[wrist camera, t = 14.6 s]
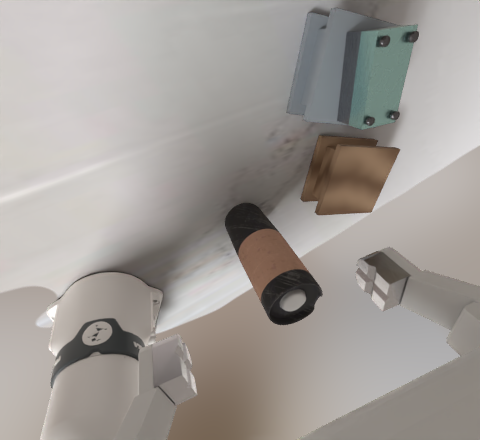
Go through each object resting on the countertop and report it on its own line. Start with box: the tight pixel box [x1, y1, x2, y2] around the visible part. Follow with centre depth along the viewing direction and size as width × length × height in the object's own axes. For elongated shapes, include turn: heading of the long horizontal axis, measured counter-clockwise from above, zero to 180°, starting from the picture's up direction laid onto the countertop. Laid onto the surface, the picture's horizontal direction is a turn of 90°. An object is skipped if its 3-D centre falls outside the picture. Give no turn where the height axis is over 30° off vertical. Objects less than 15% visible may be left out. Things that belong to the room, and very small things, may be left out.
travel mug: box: [225, 203, 322, 325], centre depth 40 cm, size 8×8×20 cm
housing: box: [337, 25, 419, 130], centre depth 31 cm, size 10×5×6 cm, turn 6°
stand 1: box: [287, 8, 400, 128], centre depth 36 cm, size 12×12×6 cm
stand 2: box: [301, 135, 400, 215], centre depth 46 cm, size 12×12×6 cm
